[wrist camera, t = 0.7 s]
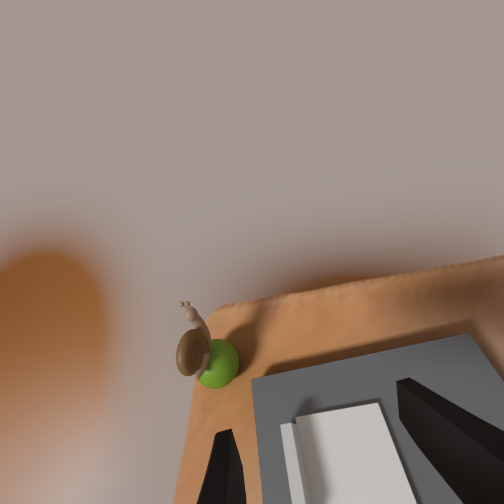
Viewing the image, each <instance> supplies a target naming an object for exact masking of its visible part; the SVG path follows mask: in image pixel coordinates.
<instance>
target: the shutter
mask: <svg viewBox="0 0 504 504" xmlns="http://www.w3.org/2000/svg"><path fill="white" fill-rule="evenodd" d="M295 419H296V424H297V425H296V424H293V423H287V424H281V425H280V427H281V434H282V440H283V447H284V454H285V460H286V467H287V473H288V480H289V487H290V493H291V500H292V504H417V503H416V500H415V498H414V495H413V493H412V490H411V487H410V485H409V482H408V480H407V477H406V474H405V472H404V469H403V467H402V464H401V461H400V459H399V456H398V454H397V451H396V448H395V446H394V443H393V441H392V438H391V435H390V433H389V430H388V428H387V425H386V423H385V420H384V417H383V415H382V412H381V410H380V407H379V404H378V403H373V404H367V405H361V406H356V407H350V408H344V409H339V410H333V411H327V412H322V413H316V414H310V415H305V416H299V417H295Z"/></svg>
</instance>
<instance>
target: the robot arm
mask: <svg viewBox="0 0 504 504" xmlns="http://www.w3.org/2000/svg"><path fill="white" fill-rule="evenodd" d="M396 386H397V398H398V411H399V419H400V421H401V422H402V424H403V425H404V427H405V429H406V430H407V432H408V433H409V435H410V436H411V438H412V439H413V441H414V442H415V443H416V445H417V446H418V448H419V449H420V450H421V452H422V453H423V454H424V455H425V457H426V458H427V459H428V460H429V462H430V463H431V464H432V465H433V467H434V468H435V469H436V470H437V472H438V473H439V474H440V475H441V477H442V478H443V479H444V480H445V481H446V483H447V484H448V485H449V486H450V488H451V489H452V490H453V491H454V493H455V494H456V495H457V496H458V498H459V499H460V500H461V501H462V503H463V504H504V431H503V430H501V429H499V428H497V427H495V426H494V425H492V424H490V423H488V422H486V421H484V420H482V419H481V418H479V417H477V416H475V415H473V414H472V413H470V412H468V411H466V410H465V409H463V408H461V407H459V406H458V405H456V404H454V403H452V402H451V401H449V400H447V399H446V398H444V397H442V396H440V395H439V394H437V393H435V392H434V391H432V390H430V389H429V388H427V387H425V386H424V385H422V384H420V383H419V382H417V381H415V380H413V379H412V378H410V377H408V378H405V379H401V380H398V381H396ZM197 504H246V492H245V483H244V474H243V466H242V462H241V459H240V456H239V452H238V449H237V446H236V442H235V439H234V435H233V432H232V429H228V430H225V431H221V432H218V433H216V435H215V437H214V442H213V447H212V451H211V455H210V459H209V463H208V467H207V471H206V474H205V478H204V481H203V484H202V488H201V491H200V494H199V498H198V501H197Z"/></svg>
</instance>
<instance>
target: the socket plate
mask: <svg viewBox="0 0 504 504" xmlns="http://www.w3.org/2000/svg"><path fill="white" fill-rule="evenodd" d="M408 377H410V378H412V379H413V380H415V381H417V382H419V383H420V384H422V385H424V386H425V387H427V388H429V389H430V390H432V391H434V392H435V393H437V394H439V395H440V396H442V397H444V398H446V399H447V400H449V401H451V402H452V403H454V404H456V405H458V406H459V407H461V408H463V409H465V410H466V411H468V412H470V413H472V414H473V415H475V416H477V417H479V418H481V419H482V420H484V421H486V422H488V423H490V424H492V425H494V426H495V427H497V428H499V429H501V430H503V431H504V381H503V380H502V378H501V377H500V376H499V374H498V373H497V371H496V370H495V369H494V367H493V366H492V364H491V363H490V362H489V360H488V359H487V357H486V356H485V355H484V353H483V352H482V350H481V349H480V348H479V346H478V345H477V343H476V342H475V341H474V339H473V338H472V336H471V335H470V334H469V333H466V334H461V335H456V336H452V337H447V338H442V339H438V340H433V341H428V342H423V343H419V344H414V345H409V346H405V347H400V348H395V349H391V350H386V351H381V352H376V353H372V354H367V355H362V356H358V357H353V358H348V359H343V360H339V361H334V362H329V363H325V364H320V365H315V366H311V367H306V368H301V369H296V370H292V371H287V372H282V373H278V374H273V375H268V376H263V377H259V378H254V379H251V382H252V392H253V403H254V413H255V423H256V434H257V444H258V454H259V464H260V475H261V485H262V495H263V504H292V500H291V493H290V487H289V480H288V473H287V467H286V460H285V454H284V447H283V440H282V434H281V427H280V425H281V424H287V423H293V424H296V419H295V417H299V416H305V415H310V414H316V413H322V412H327V411H333V410H339V409H344V408H350V407H356V406H361V405H367V404H373V403H378V404H379V407H380V410H381V412H382V415H383V417H384V420H385V423H386V425H387V428H388V430H389V433H390V435H391V438H392V441H393V443H394V446H395V448H396V451H397V454H398V456H399V459H400V461H401V464H402V467H403V469H404V472H405V474H406V477H407V480H408V482H409V485H410V487H411V490H412V493H413V495H414V498H415V500H416V503H417V504H463V503H462V501H461V500H460V499H459V498H458V496H457V495H456V494H455V493H454V491H453V490H452V489H451V488H450V486H449V485H448V484H447V483H446V481H445V480H444V479H443V478H442V477H441V475H440V474H439V473H438V472H437V470H436V469H435V468H434V467H433V465H432V464H431V463H430V462H429V460H428V459H427V458H426V457H425V455H424V454H423V453H422V452H421V450H420V449H419V448H418V446H417V445H416V443H415V442H414V441H413V439H412V438H411V436H410V435H409V433H408V432H407V430H406V429H405V427H404V425H403V424H402V422H401V421H400V419H399V411H398V398H397V386H396V381H398V380H401V379H405V378H408ZM296 425H297V424H296Z"/></svg>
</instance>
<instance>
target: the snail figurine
mask: <svg viewBox="0 0 504 504" xmlns="http://www.w3.org/2000/svg"><path fill="white" fill-rule="evenodd" d="M184 305H185V308H186V306H190V302H187V301H186V302H185V303H183V302H180V303H179V306H181V307H183V306H184ZM186 309H187V310H186V311H185V318H186V319H187V320H188V321H191V323H192V324H193V326H194V327H195V329H193V330H189V331H188V332H186V333H185V334H184V335H183V337H182V338H181V340H180V342H179V344H178V348H177V353H176V363H177V367H178V369H179V371H180V372H181V373H182V374H183V375H185V376H191V375H193V374H195V379H196V380H197V379H198V381H199V382H200V383H201V384H202V385H204V386H206V387H208V388H212V389H217V388H222V387H224V386H226V385H228V384H229V383H230V382H231V381H232V380H233V379H234V377H235V376H236V374H237V371H238V368H239V357H238V354H237V351H236V349H235V348H234V346H233V345H232V344H230V343H229V342H227V341H225V340H222V339H213V340H211V336H210V333H209V330H208V327H207V326H206V324H205V322H204V321H203V319H202V318H201V317H200V316H199V315H198V313H197V310H196V309H195V308H193V307H191V306H190V308H186Z"/></svg>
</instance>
